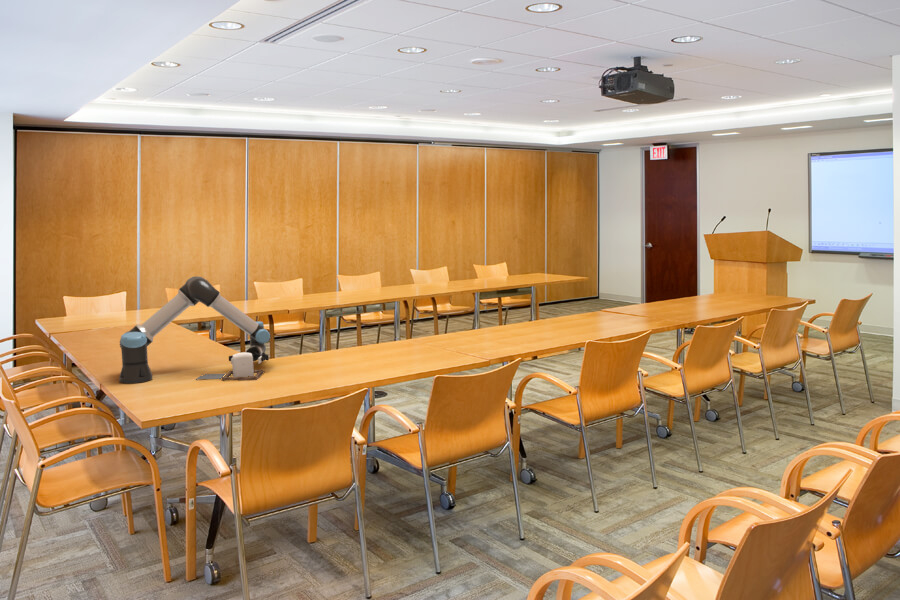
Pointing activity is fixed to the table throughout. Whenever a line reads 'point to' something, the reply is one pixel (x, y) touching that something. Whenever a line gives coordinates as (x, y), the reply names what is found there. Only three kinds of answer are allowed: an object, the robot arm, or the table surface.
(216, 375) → the rubber mat
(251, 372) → the photo printer
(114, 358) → the table surface
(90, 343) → the table surface
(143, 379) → the robot arm
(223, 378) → the walnut frame
